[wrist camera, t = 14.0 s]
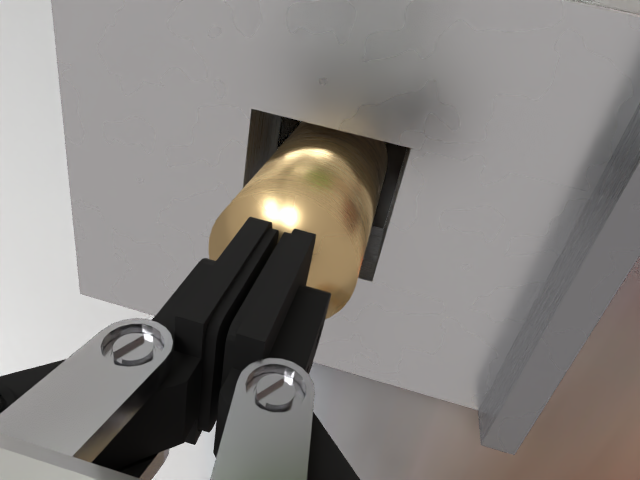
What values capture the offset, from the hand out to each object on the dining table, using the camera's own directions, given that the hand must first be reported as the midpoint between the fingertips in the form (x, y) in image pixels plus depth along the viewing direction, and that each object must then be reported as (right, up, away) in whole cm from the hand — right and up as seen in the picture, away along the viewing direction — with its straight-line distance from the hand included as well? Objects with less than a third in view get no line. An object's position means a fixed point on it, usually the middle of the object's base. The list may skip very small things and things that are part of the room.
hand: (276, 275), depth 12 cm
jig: (+2, +4, +7) cm, 8 cm away
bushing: (+2, +4, +7) cm, 8 cm away
